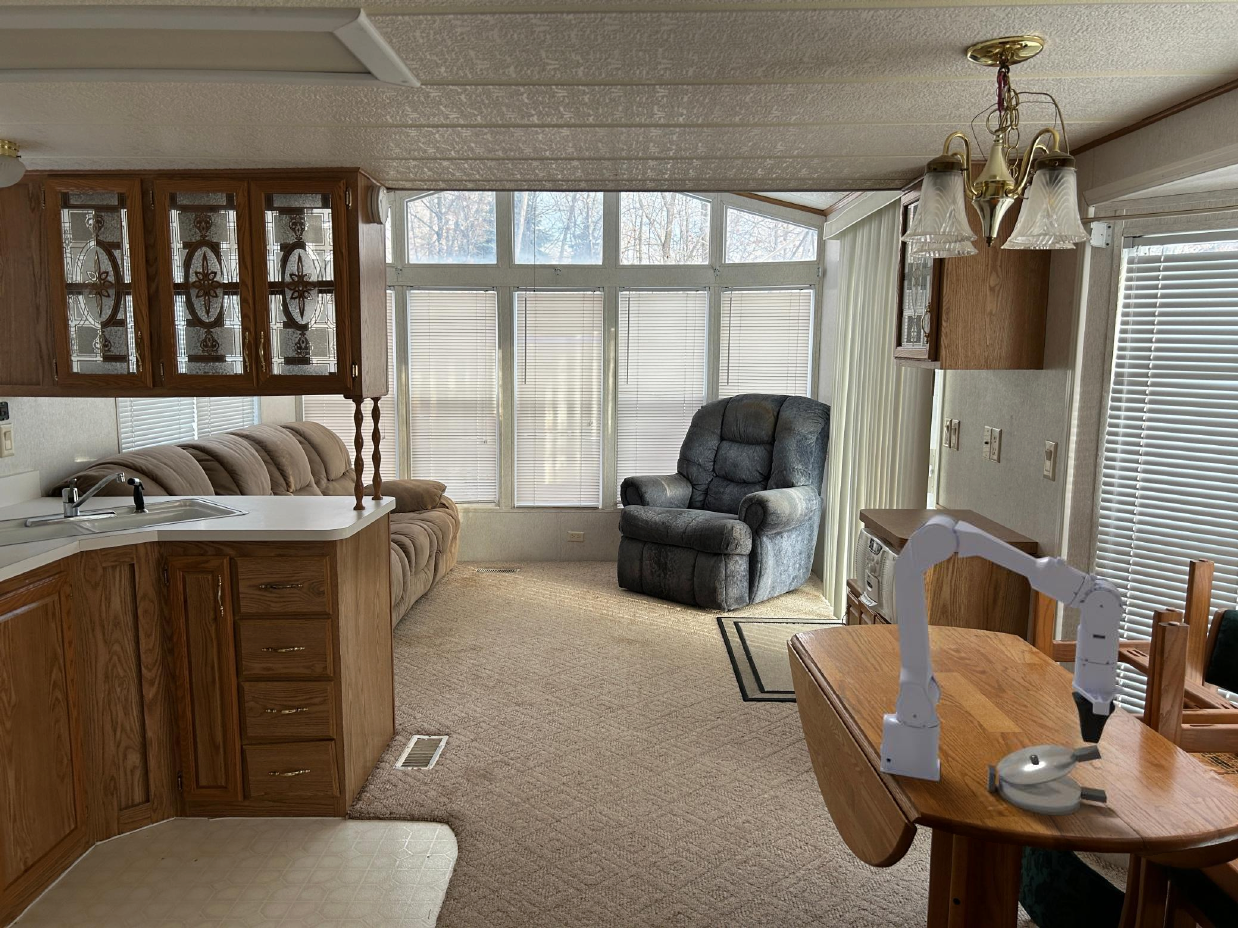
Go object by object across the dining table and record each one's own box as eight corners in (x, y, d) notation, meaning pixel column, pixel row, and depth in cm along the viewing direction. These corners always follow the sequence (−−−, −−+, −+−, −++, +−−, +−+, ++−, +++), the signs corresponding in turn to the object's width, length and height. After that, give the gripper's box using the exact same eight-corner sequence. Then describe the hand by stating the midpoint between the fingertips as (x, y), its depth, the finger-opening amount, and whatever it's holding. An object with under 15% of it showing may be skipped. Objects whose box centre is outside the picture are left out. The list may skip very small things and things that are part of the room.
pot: (989, 804, 136) (990, 785, 135) (986, 770, 147) (987, 753, 146) (1111, 825, 130) (1112, 805, 129) (1098, 788, 141) (1099, 770, 140)
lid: (1000, 790, 135) (996, 780, 135) (996, 757, 146) (993, 747, 146) (1107, 772, 129) (1102, 760, 129) (1094, 739, 140) (1090, 728, 140)
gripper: (1135, 677, 125) (1128, 765, 127) (1117, 646, 139) (1110, 726, 140) (1081, 671, 128) (1074, 757, 129) (1068, 641, 141) (1062, 719, 143)
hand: (1090, 740), depth 135 cm, fingers closed
